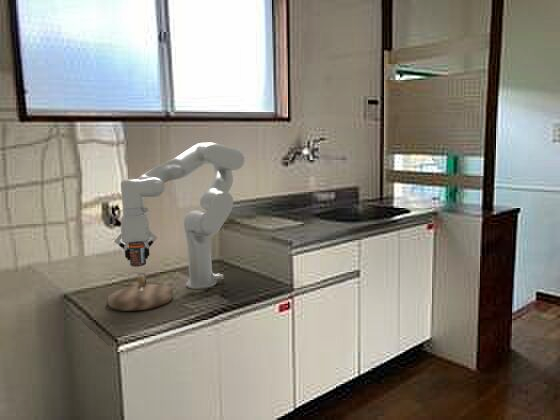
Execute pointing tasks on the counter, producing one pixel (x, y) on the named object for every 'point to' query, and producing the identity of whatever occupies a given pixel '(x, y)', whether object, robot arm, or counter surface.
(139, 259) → the supplement bottle
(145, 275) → the small hammer
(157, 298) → the turntable
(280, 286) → the counter surface
